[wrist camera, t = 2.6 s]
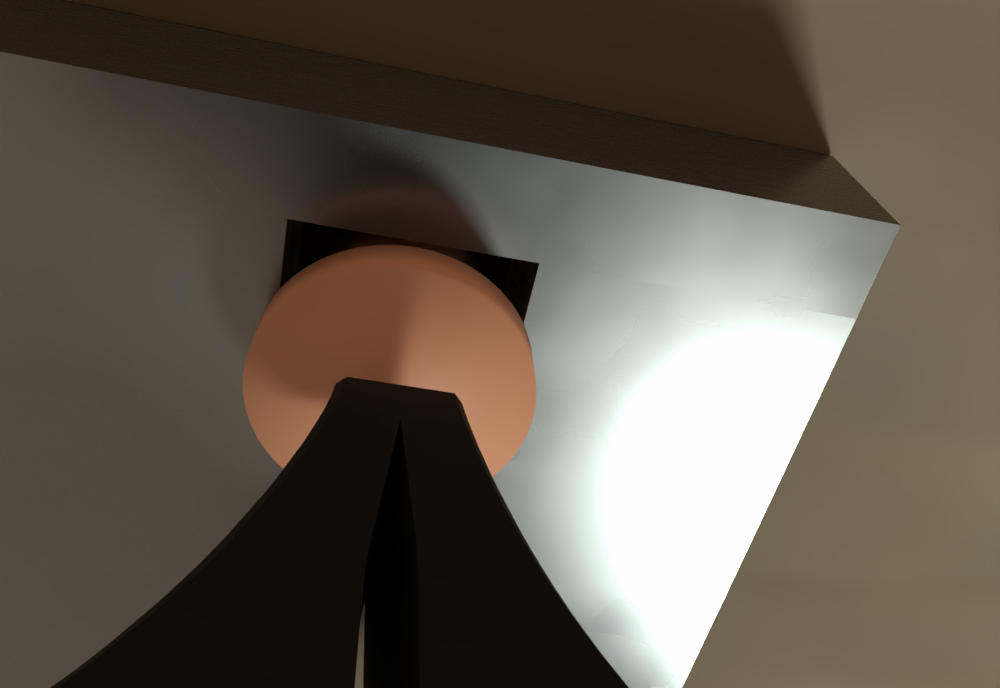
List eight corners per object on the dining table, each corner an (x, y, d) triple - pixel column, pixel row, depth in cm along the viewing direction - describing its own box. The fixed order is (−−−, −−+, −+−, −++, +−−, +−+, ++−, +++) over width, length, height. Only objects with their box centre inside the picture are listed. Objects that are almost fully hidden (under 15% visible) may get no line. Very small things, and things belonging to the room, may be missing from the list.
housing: (579, 766, 22) (593, 875, 19) (34, 714, 20) (-17, 828, 18) (832, 156, 14) (900, 225, 12) (-12, -15, 12) (-109, 30, 10)
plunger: (494, 399, 15) (502, 525, 13) (270, 364, 15) (232, 489, 12) (546, 196, 13) (567, 295, 11) (293, 148, 13) (253, 243, 10)
